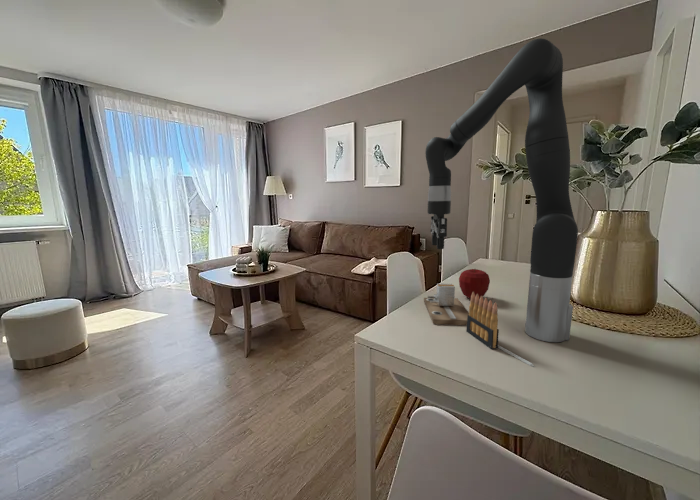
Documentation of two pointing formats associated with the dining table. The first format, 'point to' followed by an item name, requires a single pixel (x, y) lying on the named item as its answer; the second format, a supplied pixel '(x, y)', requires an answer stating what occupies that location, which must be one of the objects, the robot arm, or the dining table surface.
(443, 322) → the sliding latch plate
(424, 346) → the dining table surface
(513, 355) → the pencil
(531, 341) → the dining table surface
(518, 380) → the dining table surface
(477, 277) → the apple
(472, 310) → the ammunition clip
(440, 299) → the grey latch block
